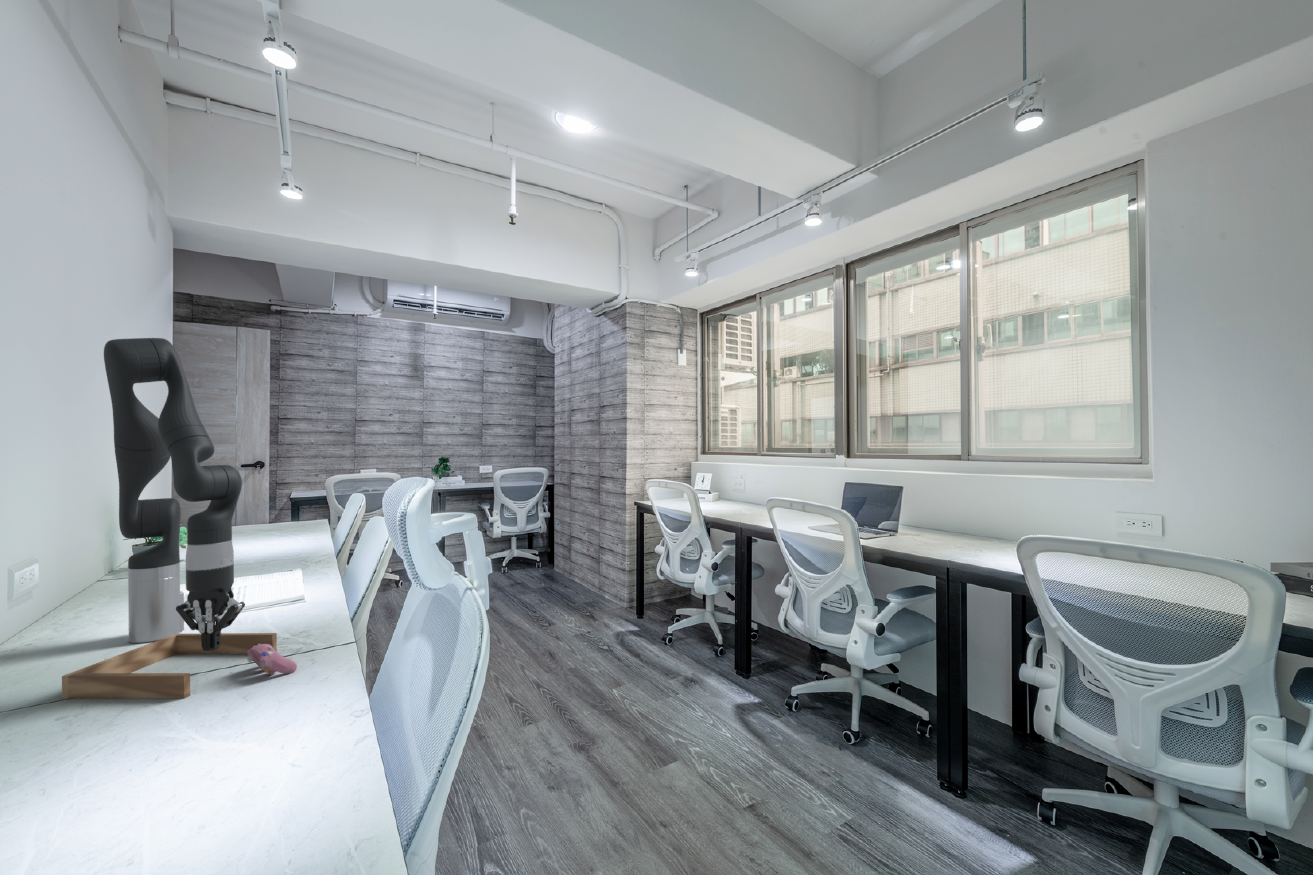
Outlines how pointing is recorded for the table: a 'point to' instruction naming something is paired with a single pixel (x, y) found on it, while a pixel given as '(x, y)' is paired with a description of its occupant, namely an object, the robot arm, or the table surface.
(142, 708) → the table surface
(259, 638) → the wooden u-shaped frame
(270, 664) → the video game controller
